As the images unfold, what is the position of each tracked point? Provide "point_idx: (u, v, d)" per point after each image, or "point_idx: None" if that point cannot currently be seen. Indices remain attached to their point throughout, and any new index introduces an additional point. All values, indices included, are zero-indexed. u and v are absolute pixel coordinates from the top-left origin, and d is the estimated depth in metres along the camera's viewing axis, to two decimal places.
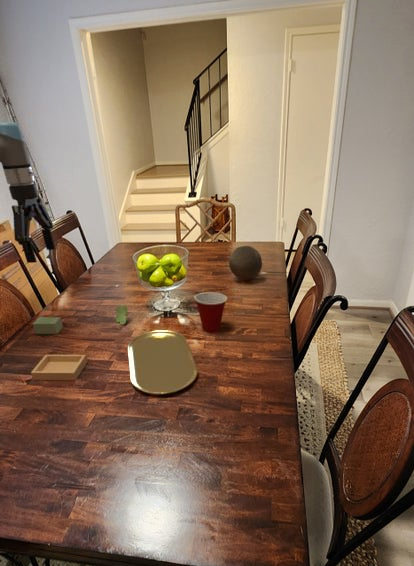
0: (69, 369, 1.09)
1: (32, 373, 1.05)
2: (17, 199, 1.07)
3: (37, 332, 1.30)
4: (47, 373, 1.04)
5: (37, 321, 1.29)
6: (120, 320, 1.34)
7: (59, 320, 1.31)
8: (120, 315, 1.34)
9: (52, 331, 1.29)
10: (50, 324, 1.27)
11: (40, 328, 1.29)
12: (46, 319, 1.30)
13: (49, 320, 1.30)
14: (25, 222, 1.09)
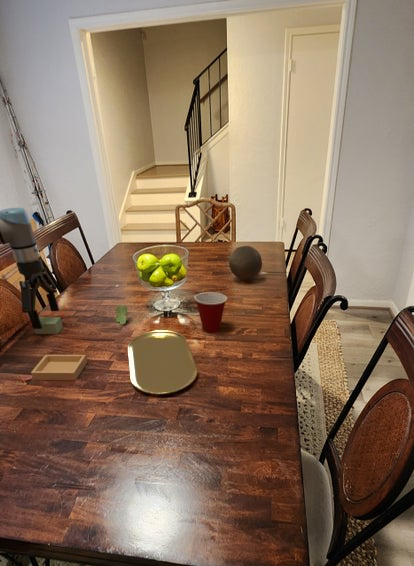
0: (69, 369, 1.09)
1: (32, 373, 1.05)
2: (24, 274, 1.17)
3: (37, 332, 1.30)
4: (47, 373, 1.04)
5: None
6: (120, 320, 1.34)
7: (59, 320, 1.31)
8: (120, 315, 1.34)
9: (52, 331, 1.29)
10: (50, 324, 1.27)
11: None
12: (46, 319, 1.30)
13: (49, 320, 1.30)
14: (31, 294, 1.19)
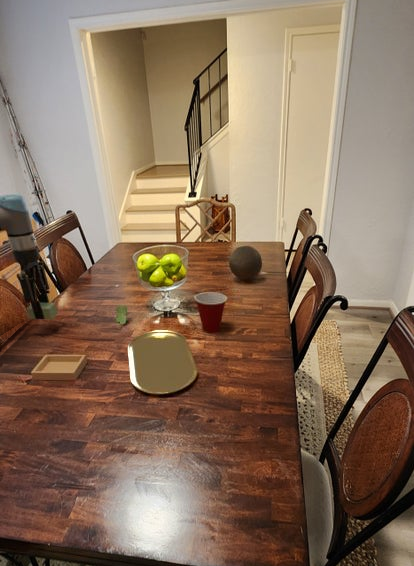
0: (69, 369, 1.09)
1: (32, 373, 1.05)
2: (20, 263, 1.15)
3: (32, 318, 1.26)
4: (47, 373, 1.04)
5: (31, 306, 1.26)
6: (120, 320, 1.34)
7: (54, 305, 1.28)
8: (120, 315, 1.34)
9: (47, 316, 1.26)
10: (45, 309, 1.24)
11: None
12: (41, 304, 1.27)
13: (43, 305, 1.26)
14: (31, 285, 1.19)
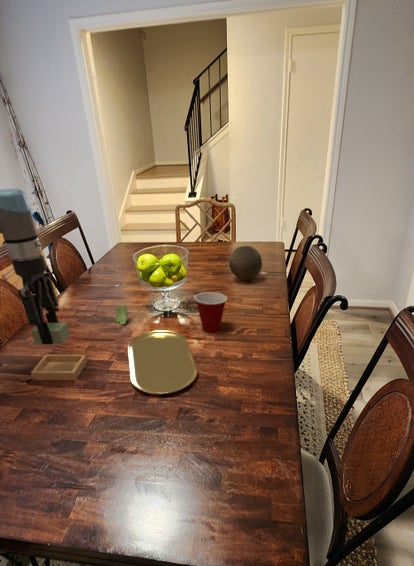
0: (69, 369, 1.09)
1: (32, 373, 1.05)
2: (22, 276, 0.91)
3: (38, 342, 1.02)
4: (47, 373, 1.04)
5: None
6: (120, 320, 1.34)
7: (65, 326, 1.03)
8: (120, 315, 1.34)
9: (56, 340, 1.01)
10: (54, 331, 1.00)
11: None
12: (48, 325, 1.03)
13: (52, 326, 1.02)
14: (36, 303, 0.95)
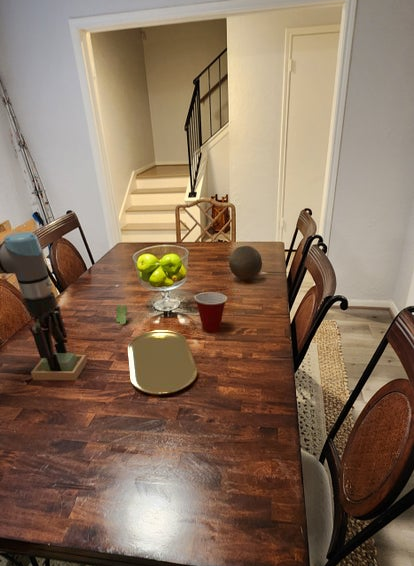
0: None
1: (32, 373, 1.05)
2: (33, 313, 0.95)
3: None
4: (47, 373, 1.04)
5: None
6: (120, 320, 1.34)
7: (73, 357, 1.08)
8: (120, 315, 1.34)
9: None
10: (63, 362, 1.05)
11: None
12: (57, 356, 1.07)
13: (61, 357, 1.07)
14: (46, 337, 1.00)
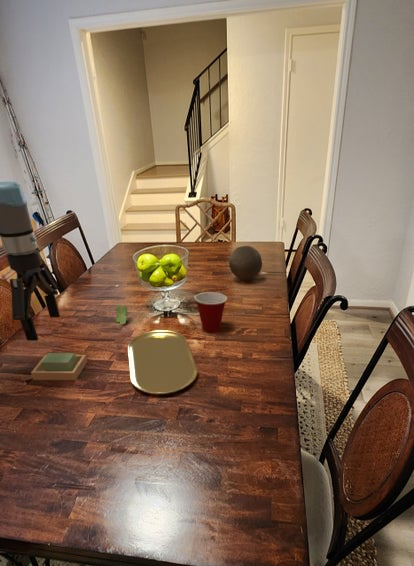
0: None
1: (32, 373, 1.05)
2: (16, 270, 0.90)
3: None
4: (47, 373, 1.04)
5: (47, 358, 1.06)
6: (120, 320, 1.34)
7: (73, 357, 1.08)
8: (120, 315, 1.34)
9: None
10: (63, 362, 1.05)
11: (50, 367, 1.06)
12: (57, 356, 1.07)
13: (61, 357, 1.07)
14: (25, 296, 0.92)
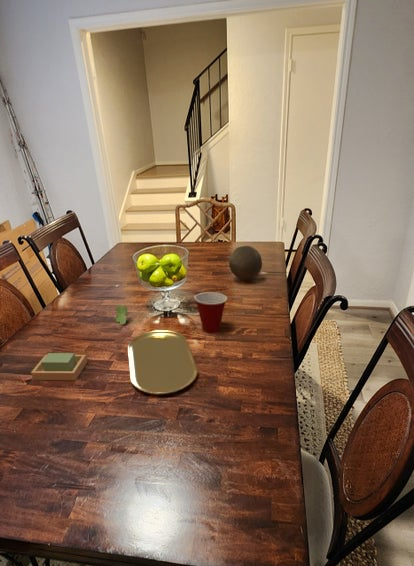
0: None
1: (32, 373, 1.05)
2: None
3: None
4: (47, 373, 1.04)
5: (47, 358, 1.06)
6: (120, 320, 1.34)
7: (73, 357, 1.08)
8: (120, 315, 1.34)
9: None
10: (63, 362, 1.05)
11: (50, 367, 1.06)
12: (57, 356, 1.07)
13: (61, 357, 1.07)
14: None
